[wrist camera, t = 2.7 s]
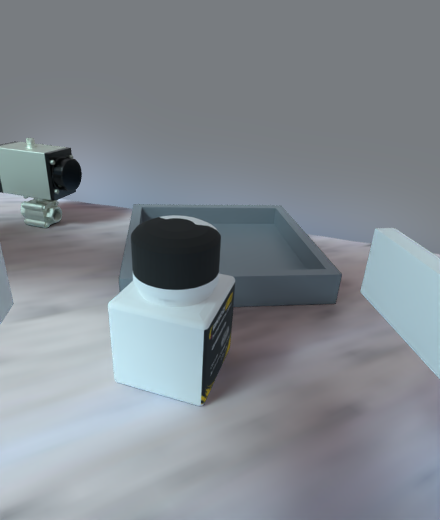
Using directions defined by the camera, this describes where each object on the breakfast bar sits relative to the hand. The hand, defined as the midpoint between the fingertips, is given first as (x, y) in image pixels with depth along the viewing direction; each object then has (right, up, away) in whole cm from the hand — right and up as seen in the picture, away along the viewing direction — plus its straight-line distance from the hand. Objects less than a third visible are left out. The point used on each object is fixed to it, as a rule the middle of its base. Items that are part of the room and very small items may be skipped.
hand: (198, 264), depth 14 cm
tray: (+1, 0, +35) cm, 35 cm away
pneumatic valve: (-25, +5, +43) cm, 50 cm away
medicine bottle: (-3, -8, +17) cm, 19 cm away
